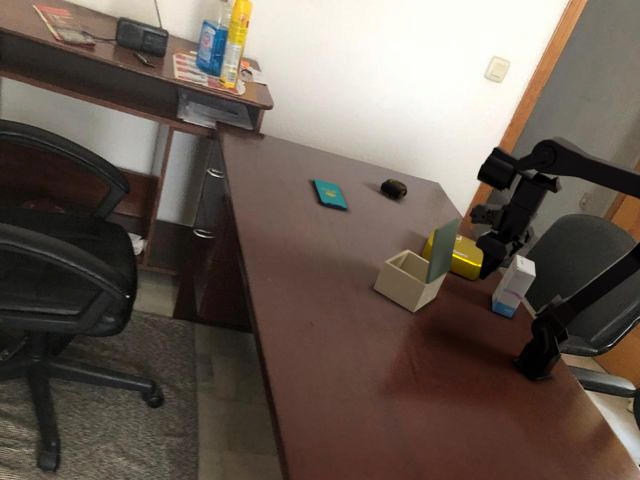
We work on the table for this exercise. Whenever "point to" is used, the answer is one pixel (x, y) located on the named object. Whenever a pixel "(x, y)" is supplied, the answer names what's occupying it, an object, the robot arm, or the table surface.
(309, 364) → the table surface
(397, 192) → the tape measure
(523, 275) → the ink box
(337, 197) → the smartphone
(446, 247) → the lid
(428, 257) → the element tile
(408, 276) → the tin
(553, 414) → the table surface
